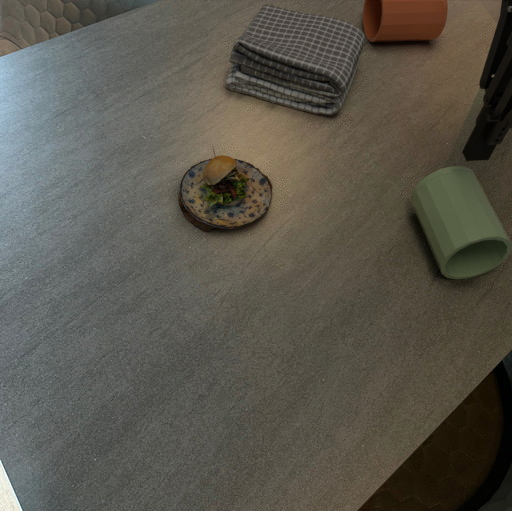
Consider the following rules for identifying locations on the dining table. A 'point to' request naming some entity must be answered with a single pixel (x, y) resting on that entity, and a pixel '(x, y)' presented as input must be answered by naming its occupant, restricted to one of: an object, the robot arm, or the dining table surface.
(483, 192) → the sage cup
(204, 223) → the burger
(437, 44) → the dining table surface
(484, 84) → the robot arm
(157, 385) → the dining table surface
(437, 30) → the terracotta cup
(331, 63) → the towel
